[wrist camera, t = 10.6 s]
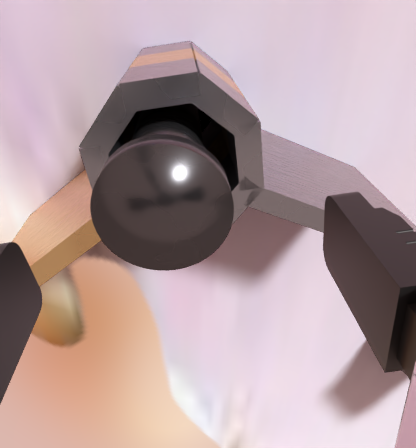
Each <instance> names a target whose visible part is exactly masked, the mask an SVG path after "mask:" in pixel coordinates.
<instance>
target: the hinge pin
mask: <svg viewBox="0 0 416 448" xmlns="http://www.w3.org/2000/svg"><path fill="white" fill-rule="evenodd" d="M90 211H91V218H92V222H93V225H94V227H95V230H96V232H97V234H98V235H99V237H100V239H101V240H102V241H103V243H104V244H105V245H106V246H107V247H108V248H109V249H110V250H111V251H112V252H113V253H114V254H116V255H117V256H118V257H120V258H122V259H123V260H125V261H127V262H129V263H131V264H133V265H136V266H139V267H142V268H147V269H152V270H176V269H181V268H185V267H189V266H192V265H194V264H196V263H199V262H201V261H202V260H204V259H206V258H207V257H209V256H210V255H211V254H213V253H214V252H215V251H216V250H217V249H218V248H219V247H220V245H221V244H222V243H223V242H224V240H225V238H226V237H227V235H228V233H229V231H230V228H231V225H232V222H233V216H234V202H233V197H232V193H231V189H230V185H229V182H228V179H227V176H226V173H225V171H224V169H223V167H222V166H221V164H220V163H219V161H218V160H217V159H216V158H215V157H214V156H213V155H212V154H211V153H210V152H209V151H208V150H207V149H205V148H204V142H203V136H202V130H201V125H200V119H199V113H198V107H196V106H195V105H194V104H193V103H188V104H181V105H174V106H168V107H161V108H154V109H148V110H141V113H140V116H139V119H138V122H137V125H136V128H135V131H134V134H133V137H132V140H131V141H130V142H128V143H126V144H124V145H123V146H121V147H120V148H119V149H117V150H116V151H115V152H114V153H113V154H112V155H111V156H110V157H109V159H108V160H107V161H106V162H105V164H104V166H103V168H102V169H101V172H100V174H99V176H98V178H97V181H96V183H95V185H94V188H93V191H92V195H91V202H90Z"/></svg>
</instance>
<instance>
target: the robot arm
mask: <svg viewBox="0 0 416 448" xmlns="http://www.w3.org/2000/svg"><path fill="white" fill-rule="evenodd" d="M323 251H324V257H325V262H326V265H327V267H328V270H329V271H330V273H331V275H332V277H333V279H334V281H335V282H336V284H337V286H338V288H339V290H340V292H341V293H342V295H343V297H344V299H345V301H346V303H347V304H348V306H349V308H350V310H351V312H352V313H353V315H354V317H355V319H356V321H357V323H358V324H359V326H360V328H361V330H362V332H363V334H364V335H365V337H366V339H367V341H368V343H369V345H370V346H371V348H372V350H373V352H374V354H375V356H376V357H377V359H378V361H379V363H380V365H381V367H382V368H383V370H384V372H392V371H399V370H404V371H405V372H406V374H407V376H408V377H409V379H410V385H409V389H408V393H407V397H406V402H405V406H404V410H403V414H402V419H401V423H400V427H399V431H398V436H397V440H396V444H395V448H416V231H415V232H414V231H413V228H412V227H411V226H410V225H409V224H408V223H407V222H406V221H405V220H404V219H403V218H402V217H401V216H399V215H397V214H394V213H392V212H390V211H388V210H386V209H384V208H382V207H381V208H373V206H372V205H371V204H370V203H369V202H368V201H367V200H366V199H365V198H364V197H363V196H362V194H361V193H359V192H350V193H343V194H336V195H330V196H327V197H326V200H325V210H324V237H323ZM41 307H42V294H41V290H40V287H39V285H38V283H37V280H36V278H35V276H34V274H33V272H32V270H31V268H30V266H29V264H28V262H27V260H26V258H25V256H24V254H23V251H22V250H21V248H20V246H19V245H18V244H16V243H14V242H9V243H3V244H0V403H1V401H2V399H3V397H4V394H5V392H6V390H7V387H8V385H9V383H10V380H11V378H12V375H13V373H14V371H15V369H16V366H17V364H18V362H19V359H20V357H21V355H22V352H23V350H24V348H25V345H26V343H27V341H28V339H29V336H30V334H31V332H32V329H33V327H34V325H35V322H36V320H37V318H38V315H39V313H40V310H41Z"/></svg>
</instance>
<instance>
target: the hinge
mask: <svg viewBox="0 0 416 448" xmlns="http://www.w3.org/2000/svg"><path fill="white" fill-rule="evenodd" d="M188 103H193V104H194V105H195V106H196V107H198V108H199V109H200V110H202V111H203V112H204V113H206V114H207V115H208V116H210V117H211V118H212V121H211V122H210V123H209V125H208V126H207V127H206V128H205V130H204V131H203V132H202V136H203V142H204V148H205V149H207V150H208V151H209V152H210V153H211V154H212V155H213V156H214V157H215V158H216V159H217V160H218V161H219V163H220V164H221V166H222V167H223V169H224V171H225V173H226V176H227V179H228V182H229V185H230V189H231V193H232V197H233V202H234V216H233V222H232V224H233V223H234V222H235V221H236V220H237V218H238V217H239V216H240V215H241V214H242V213H243V212H244V211H245V210H246V208H247V207H251V208H254V209H256V210H259V211H262V212H265V213H268V214H271V215H274V216H277V217H280V218H283V219H285V220H288V221H291V222H294V223H297V224H300V225H303V226H306V227H309V228H312V229H314V230H317V231H320V232H323V233H324V210H325V200H326V197H327V196H330V195H336V194H343V193H350V192H359V193H361V194H362V196H363V197H364V198H365V199H366V200H367V201H368V202H369V203H370V204H371V205H372V206H373V208H381V207H382V208H384V209H386V210H388V211H390V212H392V213H394V214H397V215H399V216H401V217H402V218H403V219H404V220H405V221H406V222H407V223H408V224H409V225H410V226H411V227H412V228H413V231H414V232H415V231H416V226H415V225H414V224H413V223H412V222H411V221H410V220H409V219H408V218H407V217H406V216H405V215H404V214H403V213H402V212H401V211H400V210H399V209H398V208H396V207H395V206H394V205H393V204H392V203H391V202H390V201H389V200H388V199H387V198H386V197H385V196H384V195H383V194H382V193H381V192H380V191H379V190H378V189H377V188H376V187H375V186H374V185H373V184H372V183H371V182H370V181H368V180H367V179H366V178H365V177H364V176H363V175H362V174H361V173H360V172H359V171H358V170H357V169H356V168H355V167H353V166H350V165H348V164H345V163H343V162H340V161H338V160H336V159H333V158H331V157H328V156H326V155H323V154H321V153H318V152H316V151H313V150H311V149H308V148H306V147H303V146H301V145H299V144H296V143H294V142H291V141H289V140H286V139H284V138H281V137H279V136H276V135H274V134H271V133H269V132H267V131H264V130H262V129H261V123H260V121H259V118H258V117H257V115H256V114H255V112H254V111H253V109H252V108H251V106H250V105H249V103H248V102H247V100H246V99H245V97H244V96H243V94H242V93H241V91H240V90H239V88H238V87H237V85H236V84H235V82H234V81H233V79H232V78H231V76H230V75H229V73H228V72H227V71H226V70H225V69H224V68H223V67H222V66H220V65H219V64H218V63H217V62H215V61H214V60H213V59H212V58H211V57H209V56H208V55H207V54H206V53H205V52H203V51H202V50H201V49H200V48H199V47H197V46H196V45H195V44H194V43H193V42H191V43H190V41H187V42H180V43H174V44H167V45H161V46H154V47H147V48H143V49H142V50H141V51H140V53H139V54H138V56H137V57H136V59H135V60H134V61H133V63H132V64H131V66H130V67H129V69H128V70H127V71H126V73H125V74H124V76H123V77H122V79H121V80H120V82H119V83H118V84H117V86H116V88H115V89H114V91H113V92H112V94H111V96H110V97H109V99H108V100H107V102H106V104H105V105H104V107H103V109H102V110H101V112H100V113H99V115H98V117H97V118H96V120H95V121H94V123H93V125H92V126H91V128H90V130H89V131H88V133H87V134H86V136H85V138H84V139H83V141H82V143H81V144H80V146H79V147H80V148H79V151H80V154H81V157H82V160H83V164H84V167H85V170H84V171H83V172H81V173H80V174H79V175H78V176H77V177H75V178H74V179H73V180H72V181H71V182H69V183H68V184H67V185H66V186H65V187H63V188H62V189H61V190H60V191H59V192H57V193H56V194H55V195H54V196H53V197H51V198H50V199H49V200H48V201H47V202H45V203H44V204H43V205H42V206H41V207H39V208H38V209H37V210H36V211H35V212H33V213H32V214H31V215H30V216H29V217H28V219H27V220H26V222H25V223H24V225H23V226H22V228H21V229H20V231H19V232H18V234H17V235H16V237H15V238H14V239H13V241H12V242H14V243H16V244H18V245H19V246H20V248H21V250H22V251H23V254H24V256H25V258H26V260H27V262H28V264H29V266H30V268H31V270H32V272H33V274H34V276H35V278H36V280H37V283H38V285H39V287H40V286H41V285H42V284H44V283H45V282H46V281H48V280H49V279H50V278H52V277H53V276H54V275H56V274H57V273H58V272H60V271H61V270H62V269H64V268H65V267H66V266H68V265H69V264H70V263H72V262H73V261H74V260H76V259H77V258H78V257H80V256H81V255H82V254H84V253H85V252H86V251H88V250H89V249H90V248H92V247H93V246H94V245H96V244H97V243H98V242H100V241H101V239H100V237H99V235H98V234H97V232H96V230H95V227H94V225H93V222H92V218H91V211H90V202H91V195H92V191H93V188H94V185H95V183H96V181H97V178H98V176H99V174H100V172H101V169H102V168H103V166H104V164H105V162H106V161H107V160H108V159H109V157H110V156H111V155H112V154H113V153H114V152H115V151H116V150H117V149H119V148H120V147H121V146H123V145H124V144H126V143H128V142H130V141H131V140H132V137H133V134H134V131H135V128H136V125H137V122H138V119H139V116H140V112H139V111H141V110H148V109H154V108H161V107H168V106H174V105H181V104H188Z"/></svg>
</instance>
